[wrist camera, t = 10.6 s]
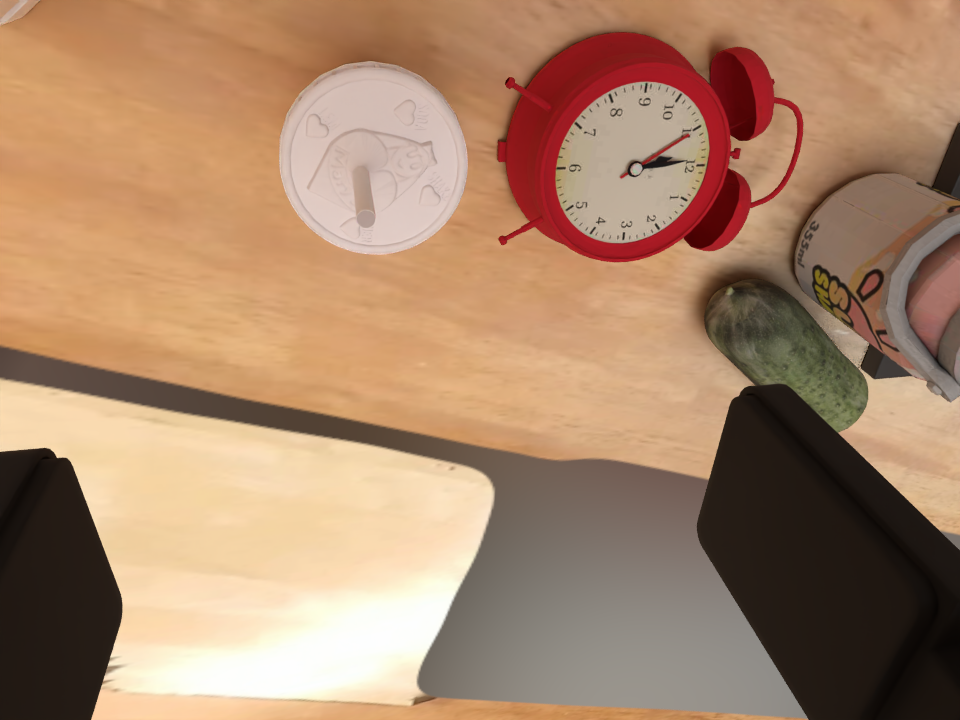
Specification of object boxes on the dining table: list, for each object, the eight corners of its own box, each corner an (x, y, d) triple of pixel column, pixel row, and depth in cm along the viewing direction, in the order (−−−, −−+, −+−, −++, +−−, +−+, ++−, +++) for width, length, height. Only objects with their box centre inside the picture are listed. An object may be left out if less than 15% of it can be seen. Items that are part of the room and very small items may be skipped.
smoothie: (268, 50, 29) (226, 132, 17) (412, 10, 29) (468, 63, 17) (321, 192, 32) (316, 338, 21) (448, 155, 32) (515, 280, 21)
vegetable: (848, 365, 45) (900, 409, 41) (785, 415, 46) (829, 463, 42) (739, 240, 38) (789, 277, 34) (670, 304, 39) (709, 347, 35)
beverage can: (751, 229, 38) (901, 334, 28) (881, 119, 36) (1095, 190, 26) (819, 324, 42) (969, 444, 32) (938, 232, 40) (1137, 329, 30)
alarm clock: (500, 43, 27) (881, 52, 26) (502, 25, 32) (819, 33, 32) (492, 280, 32) (807, 290, 32) (495, 231, 38) (765, 240, 37)
